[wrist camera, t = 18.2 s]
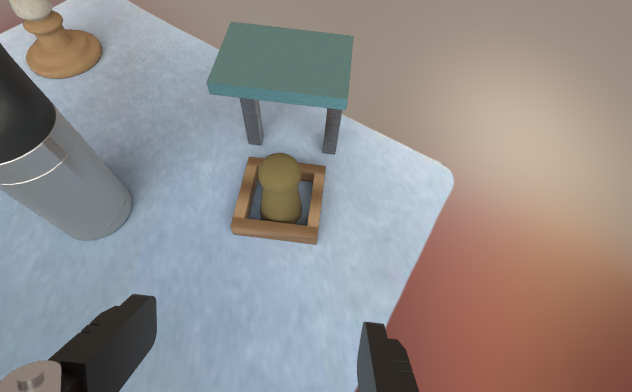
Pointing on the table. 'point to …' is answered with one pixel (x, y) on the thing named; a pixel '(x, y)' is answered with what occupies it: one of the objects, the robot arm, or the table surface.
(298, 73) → the mint green stool
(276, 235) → the socket
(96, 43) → the candle holder
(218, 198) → the table surface
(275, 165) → the cork
